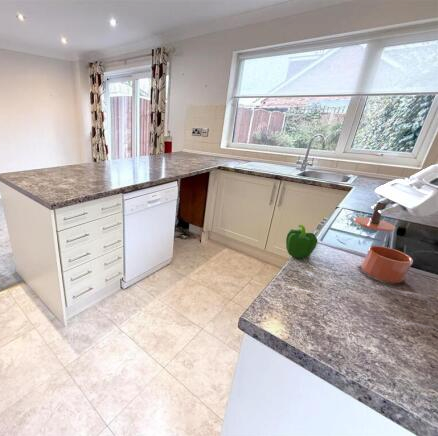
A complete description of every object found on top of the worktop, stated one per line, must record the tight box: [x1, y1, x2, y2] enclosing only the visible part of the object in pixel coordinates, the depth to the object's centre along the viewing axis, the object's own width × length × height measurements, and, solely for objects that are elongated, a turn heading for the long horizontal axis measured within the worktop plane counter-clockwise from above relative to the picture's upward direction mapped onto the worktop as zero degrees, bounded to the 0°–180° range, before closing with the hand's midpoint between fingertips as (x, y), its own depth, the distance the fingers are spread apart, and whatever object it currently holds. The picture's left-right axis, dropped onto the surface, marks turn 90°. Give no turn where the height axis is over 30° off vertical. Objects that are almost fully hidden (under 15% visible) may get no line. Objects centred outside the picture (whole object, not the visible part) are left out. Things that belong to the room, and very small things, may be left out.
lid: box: [353, 200, 396, 232], centre depth 77 cm, size 10×10×8 cm
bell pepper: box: [285, 224, 318, 259], centre depth 79 cm, size 8×8×10 cm
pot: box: [360, 245, 414, 284], centre depth 71 cm, size 9×9×7 cm
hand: (376, 211), depth 77 cm, fingers closed on lid, 2 cm apart
